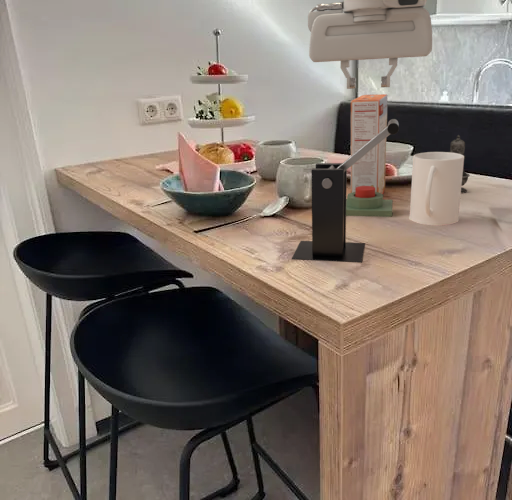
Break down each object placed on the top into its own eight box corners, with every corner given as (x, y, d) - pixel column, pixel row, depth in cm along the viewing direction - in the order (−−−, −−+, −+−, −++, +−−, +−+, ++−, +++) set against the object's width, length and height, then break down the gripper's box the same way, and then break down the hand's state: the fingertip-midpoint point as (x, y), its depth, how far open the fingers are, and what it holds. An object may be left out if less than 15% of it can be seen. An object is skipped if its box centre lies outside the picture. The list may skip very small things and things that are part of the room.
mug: (446, 240, 80) (453, 165, 76) (394, 232, 84) (398, 162, 80) (464, 220, 89) (471, 152, 85) (416, 215, 93) (420, 150, 89)
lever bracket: (364, 250, 77) (367, 161, 73) (361, 269, 70) (364, 172, 65) (300, 247, 80) (299, 161, 75) (291, 266, 73) (289, 172, 68)
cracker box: (358, 190, 114) (360, 94, 107) (385, 191, 112) (389, 93, 105) (348, 206, 101) (349, 99, 94) (378, 207, 99) (382, 98, 92)
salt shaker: (441, 187, 113) (445, 133, 109) (469, 188, 110) (474, 133, 106) (437, 193, 108) (442, 136, 104) (467, 194, 106) (472, 137, 101)
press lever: (403, 127, 68) (391, 114, 68) (403, 132, 64) (391, 117, 64) (329, 187, 74) (318, 175, 74) (325, 195, 69) (314, 182, 69)
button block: (391, 210, 97) (392, 190, 96) (391, 222, 90) (392, 201, 88) (340, 209, 100) (340, 189, 98) (335, 221, 92) (336, 200, 91)
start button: (375, 194, 95) (375, 185, 94) (374, 199, 91) (374, 190, 91) (355, 194, 96) (356, 185, 95) (354, 199, 92) (354, 190, 92)
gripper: (304, 2, 82) (306, 91, 87) (436, -9, 77) (430, 86, 81) (310, 6, 88) (311, 89, 92) (433, -4, 82) (428, 84, 87)
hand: (368, 87), depth 87 cm, fingers open, 4 cm apart
